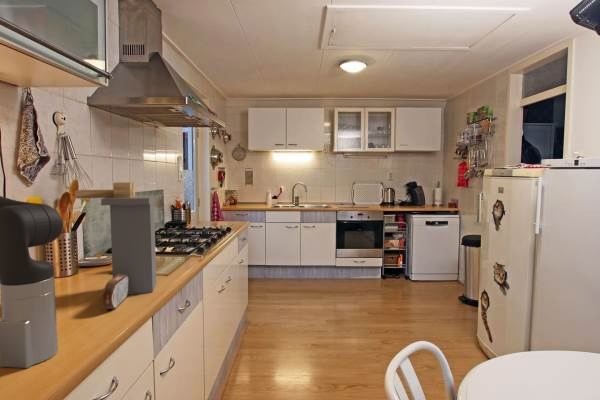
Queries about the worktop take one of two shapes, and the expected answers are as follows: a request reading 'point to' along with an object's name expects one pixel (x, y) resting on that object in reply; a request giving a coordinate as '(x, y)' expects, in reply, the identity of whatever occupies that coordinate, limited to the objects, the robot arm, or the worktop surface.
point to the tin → (115, 291)
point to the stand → (133, 241)
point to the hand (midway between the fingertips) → (51, 212)
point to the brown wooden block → (109, 191)
